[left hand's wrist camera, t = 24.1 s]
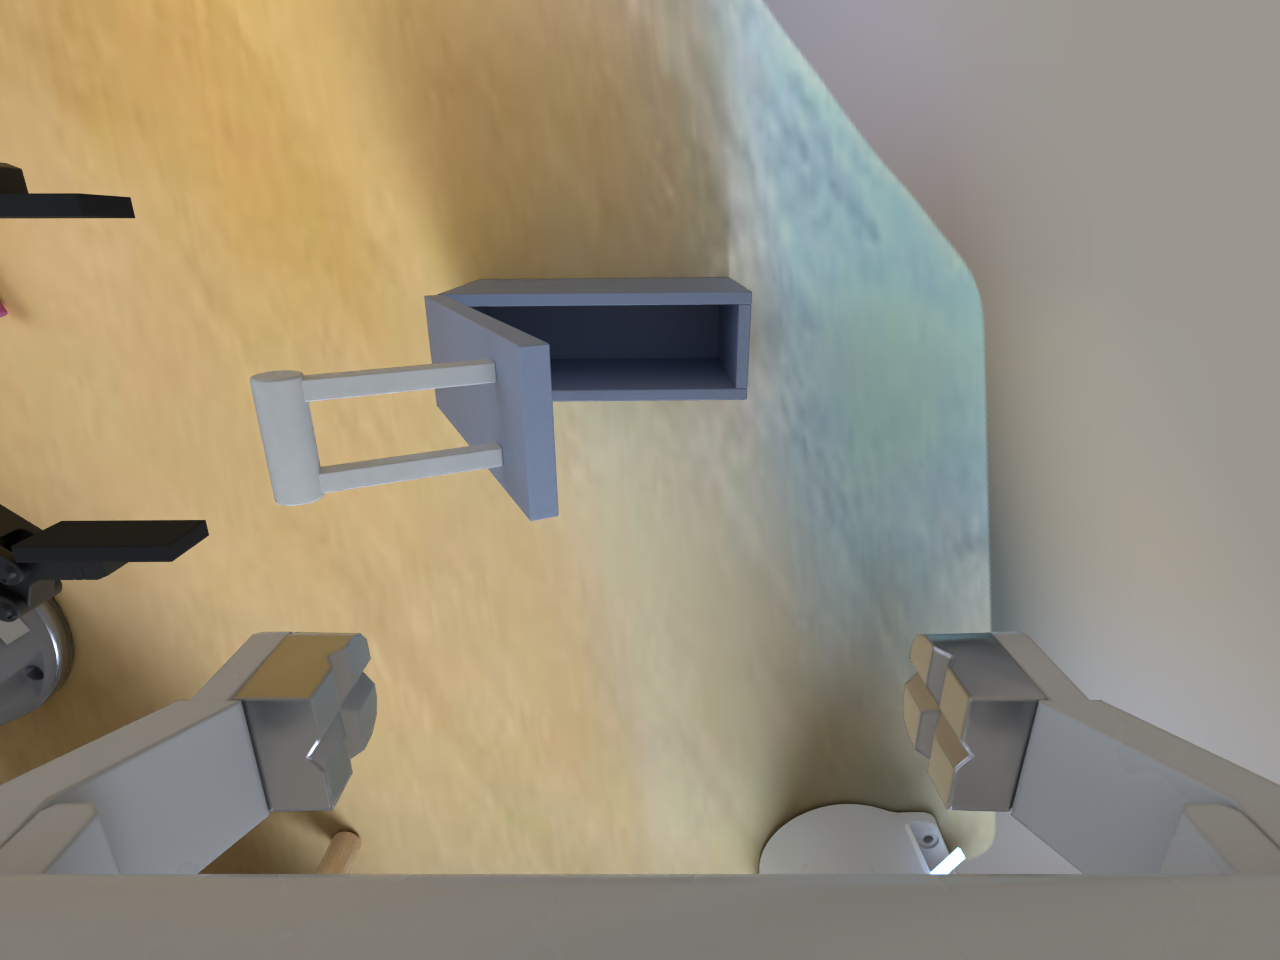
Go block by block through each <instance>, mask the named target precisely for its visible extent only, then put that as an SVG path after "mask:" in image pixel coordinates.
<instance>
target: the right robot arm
mask: <svg viewBox="0 0 1280 960" xmlns="http://www.w3.org/2000/svg"><path fill="white" fill-rule="evenodd" d="M0 218H135V215H134V211H133V207H132V202H131V198H130V197H118V196H104V195H91V194H28V190H27V186H26V183H25V179H24V176H23V172H22V169H20V168H17V167H15V166H12V165H10V164H7V163H0ZM207 536H209V533H208V529H207V525H206V520H150V521H61V522H59V523H57V524H55V525H53V526H51V527H49V528H47V529H45V530H41V529H40V528H38V527H37V526H35V525H33V524H32V523H30V522H28V521H27V520H25V519H23V518H22V517H20V516H19V515H17V514H15V513H14V512H12V511H10V510H9V509H7V508H5V507H4V506H2V505H1V504H0V726H1V725H3V724H6V723H8V722H11V721H13V720H15V719H18V718H20V717H22V716H24V715H26V714H28V713H30V712H31V711H33V710H34V709H36V708H37V707H38V706H40V705H41V704H42V703H43V702H45V701H46V700H47V699H48V698H50V697H51V696H52V695H53V694H55V693H56V692H57V691H58V690H59V689H60V688H61V687H62V685H63V684H64V683H65V681H66V680H67V678H68V676H69V674H70V671H71V668H72V664H73V658H74V647H73V640H72V635H71V632H70V629H69V626H68V623H67V621H66V619H65V617H64V615H63V613H62V611H61V609H60V608H59V606H58V605H57V603H56V602H55V600H54V599H53V598H52V597H53V596H55V595H57V594H58V593H60V592H61V590H62V583H61V581H60V580H74V579H76V580H84V579H85V580H98V579H100V578H103V577H105V576H108V575H109V574H111V573H113V572H114V571H116V570H117V569H119V568H120V567H122V566H123V565H125V564H126V563H128V562H172V561H173V560H175V559H176V558H178V557H179V556H180V555H182V554H183V553H185V552H186V551H188V550H189V549H190V548H192V547H193V546H195V545H196V544H197V543H199V542H200V541H202V540H203V539H204V538H206V537H207Z"/></svg>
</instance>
